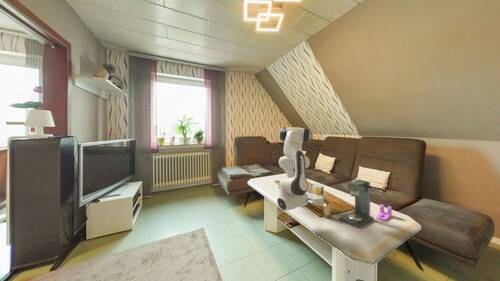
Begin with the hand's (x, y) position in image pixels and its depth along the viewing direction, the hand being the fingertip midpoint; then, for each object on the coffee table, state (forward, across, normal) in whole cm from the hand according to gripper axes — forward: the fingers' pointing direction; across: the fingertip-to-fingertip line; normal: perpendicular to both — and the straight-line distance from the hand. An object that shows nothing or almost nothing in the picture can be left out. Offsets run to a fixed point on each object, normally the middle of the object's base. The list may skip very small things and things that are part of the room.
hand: (315, 194), depth 111 cm
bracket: (+43, -20, +19) cm, 51 cm away
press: (+24, -16, +18) cm, 35 cm away
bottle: (+12, 0, +18) cm, 22 cm away
